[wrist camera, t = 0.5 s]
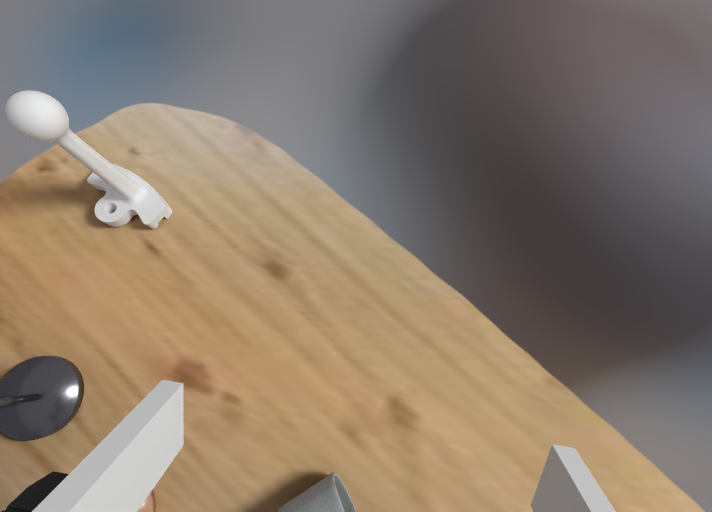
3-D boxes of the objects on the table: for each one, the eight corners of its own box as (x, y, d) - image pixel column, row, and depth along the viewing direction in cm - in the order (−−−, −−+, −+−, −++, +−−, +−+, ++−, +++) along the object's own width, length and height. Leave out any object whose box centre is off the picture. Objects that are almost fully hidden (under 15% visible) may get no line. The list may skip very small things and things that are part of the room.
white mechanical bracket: (178, 206, 51) (84, 116, 31) (139, 248, 49) (15, 179, 29) (119, 164, 52) (-6, 51, 32) (79, 203, 50) (-80, 108, 31)
